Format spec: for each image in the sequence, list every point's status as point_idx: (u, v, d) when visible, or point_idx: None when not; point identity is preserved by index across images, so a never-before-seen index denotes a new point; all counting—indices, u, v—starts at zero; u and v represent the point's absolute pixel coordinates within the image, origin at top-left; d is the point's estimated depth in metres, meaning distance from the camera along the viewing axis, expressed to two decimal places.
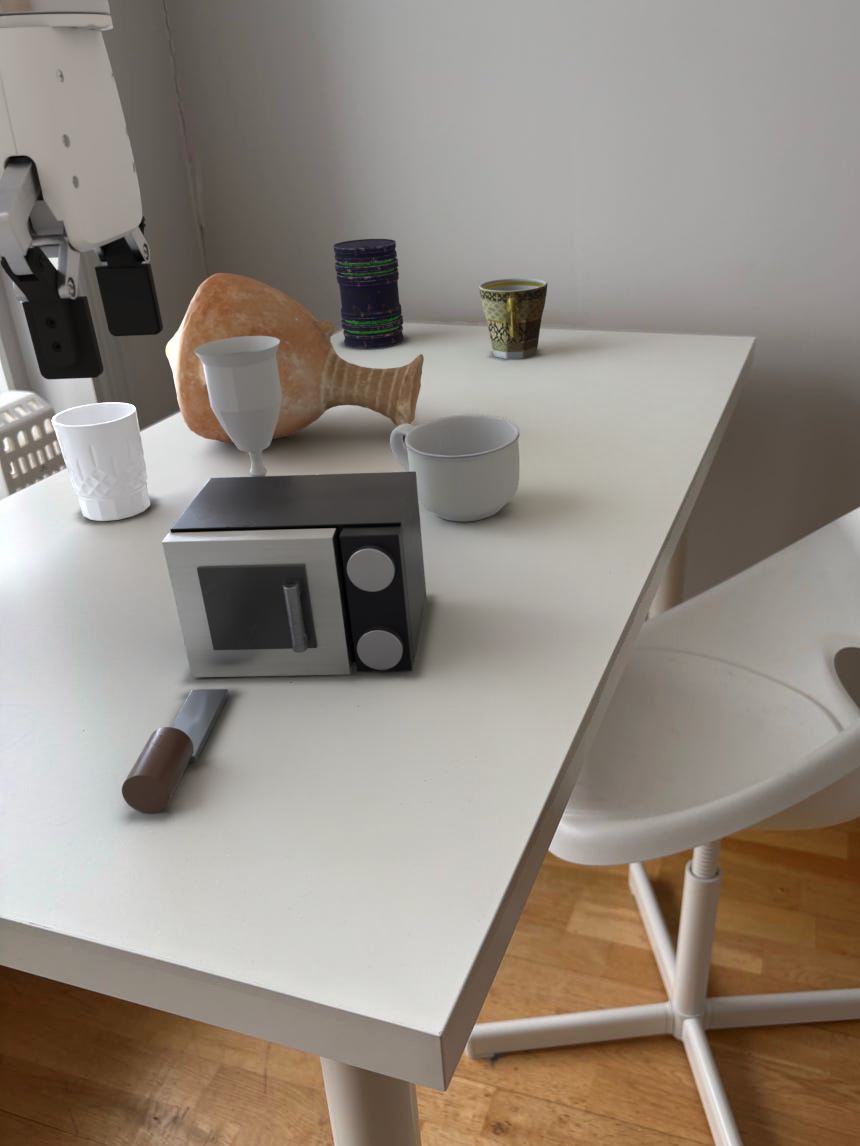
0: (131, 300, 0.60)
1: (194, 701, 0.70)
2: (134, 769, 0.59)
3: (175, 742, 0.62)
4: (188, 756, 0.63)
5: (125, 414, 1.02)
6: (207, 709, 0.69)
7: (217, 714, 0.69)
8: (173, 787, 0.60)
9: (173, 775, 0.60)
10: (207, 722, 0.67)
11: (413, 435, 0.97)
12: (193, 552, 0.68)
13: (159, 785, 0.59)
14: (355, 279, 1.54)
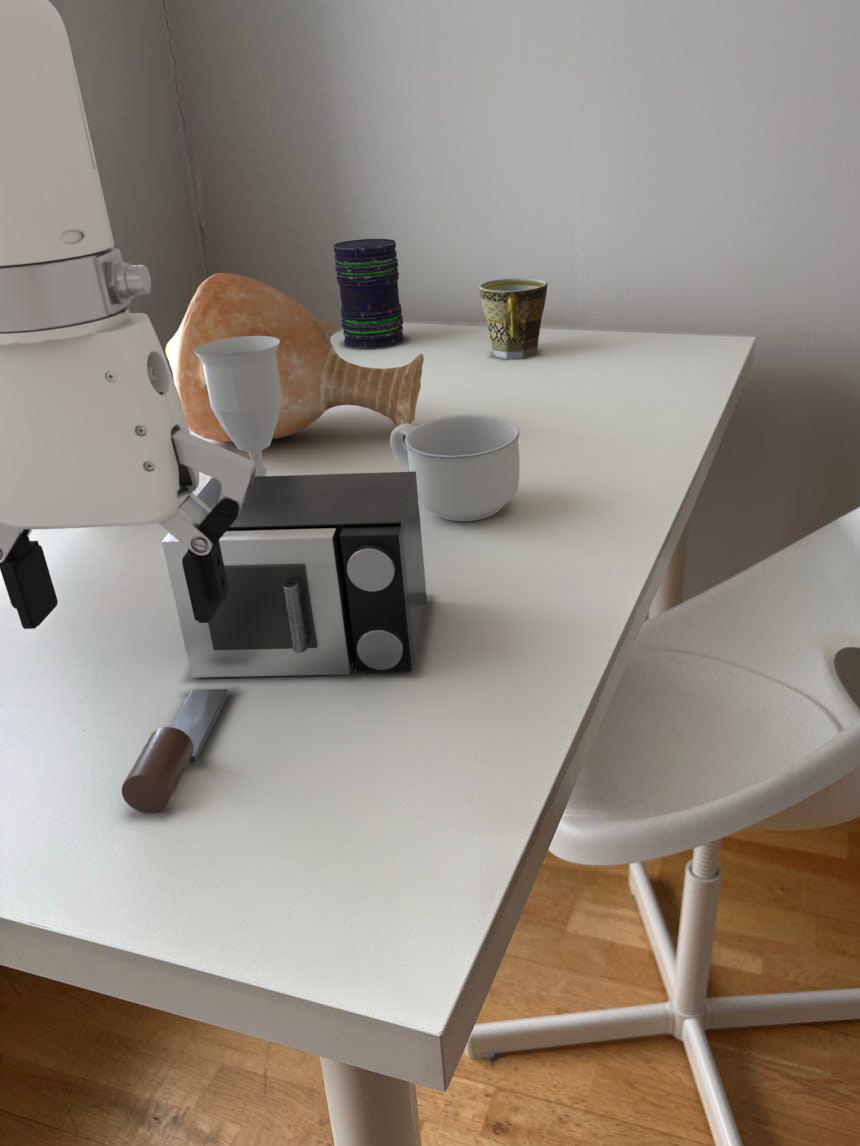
0: None
1: (194, 701, 0.70)
2: (134, 769, 0.59)
3: (175, 742, 0.62)
4: (188, 756, 0.63)
5: None
6: (207, 709, 0.69)
7: (217, 714, 0.69)
8: (173, 787, 0.60)
9: (173, 775, 0.60)
10: (207, 722, 0.67)
11: (413, 435, 0.97)
12: None
13: (159, 785, 0.59)
14: (355, 279, 1.54)
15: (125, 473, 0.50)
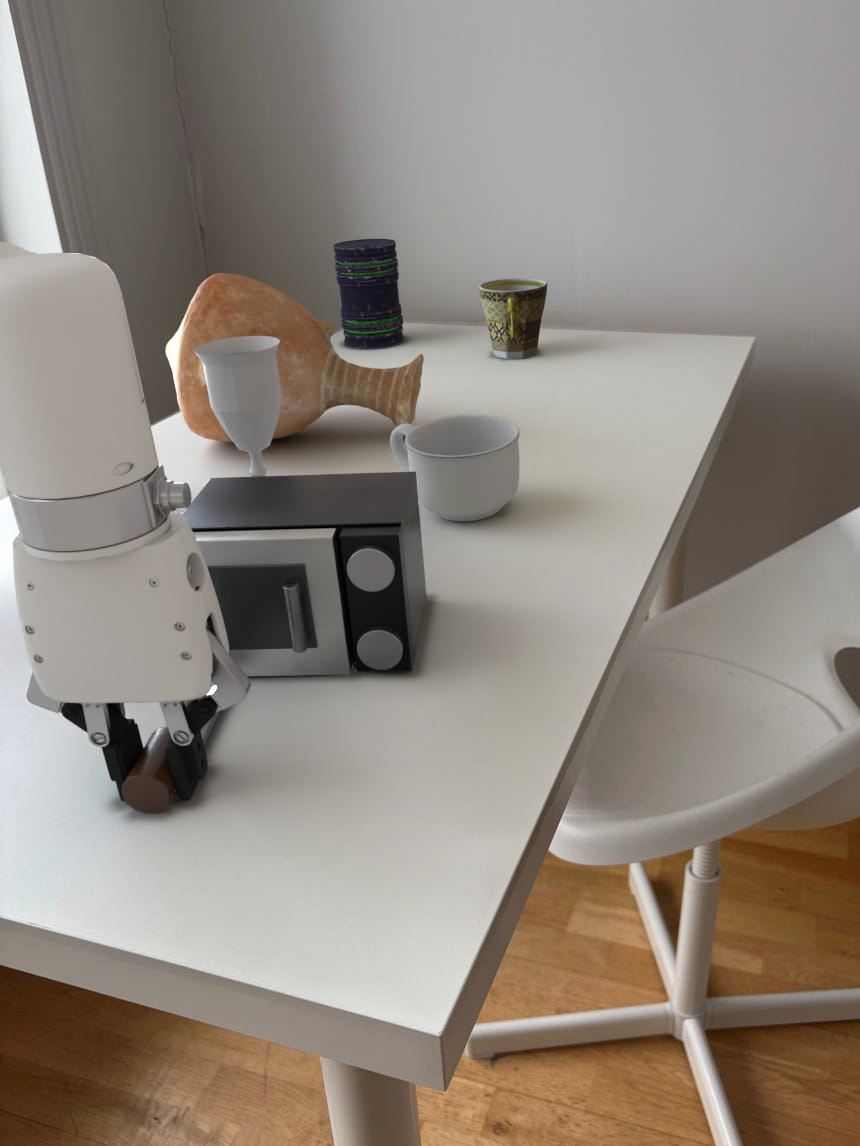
0: None
1: None
2: (134, 769, 0.59)
3: None
4: None
5: None
6: None
7: (217, 714, 0.69)
8: (173, 787, 0.60)
9: None
10: None
11: (413, 435, 0.97)
12: None
13: (159, 785, 0.59)
14: (355, 279, 1.54)
15: (164, 661, 0.55)
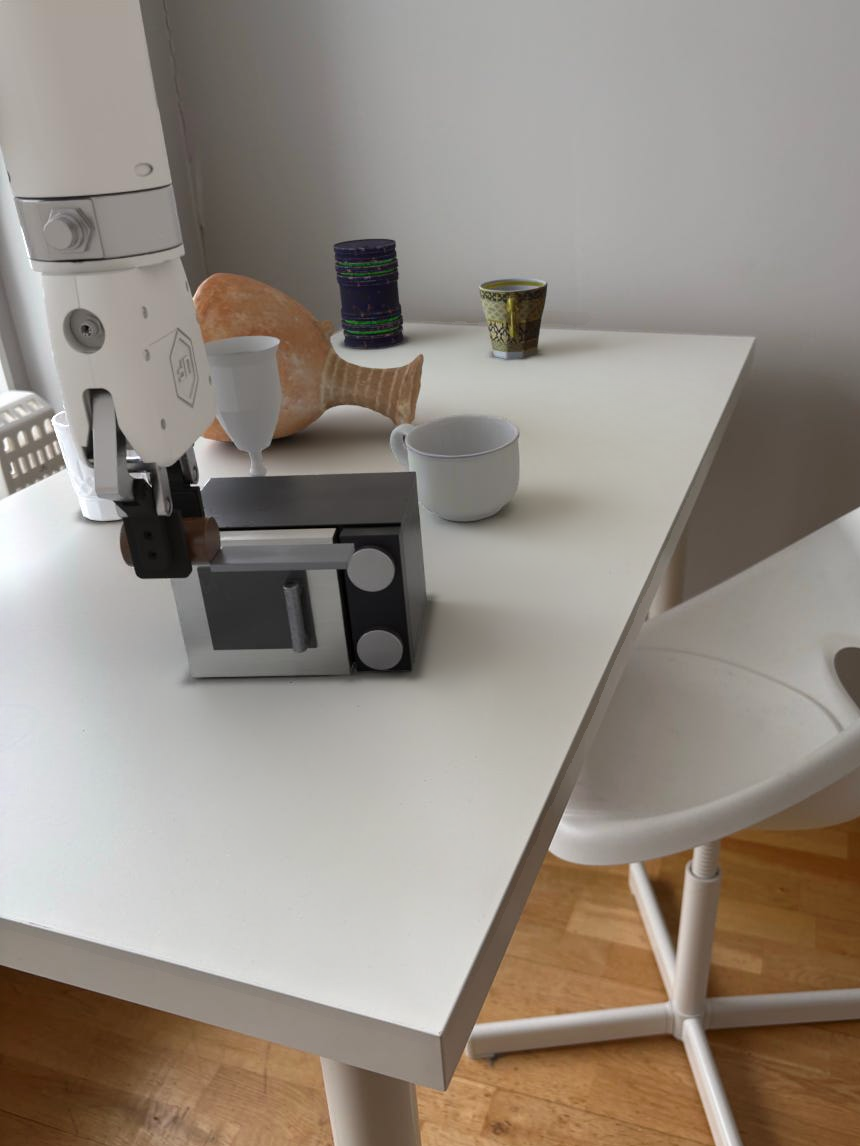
0: None
1: (325, 548, 0.59)
2: None
3: None
4: None
5: None
6: (303, 557, 0.58)
7: (297, 566, 0.58)
8: None
9: None
10: (274, 561, 0.58)
11: (413, 435, 0.97)
12: None
13: (120, 538, 0.58)
14: (355, 279, 1.54)
15: None
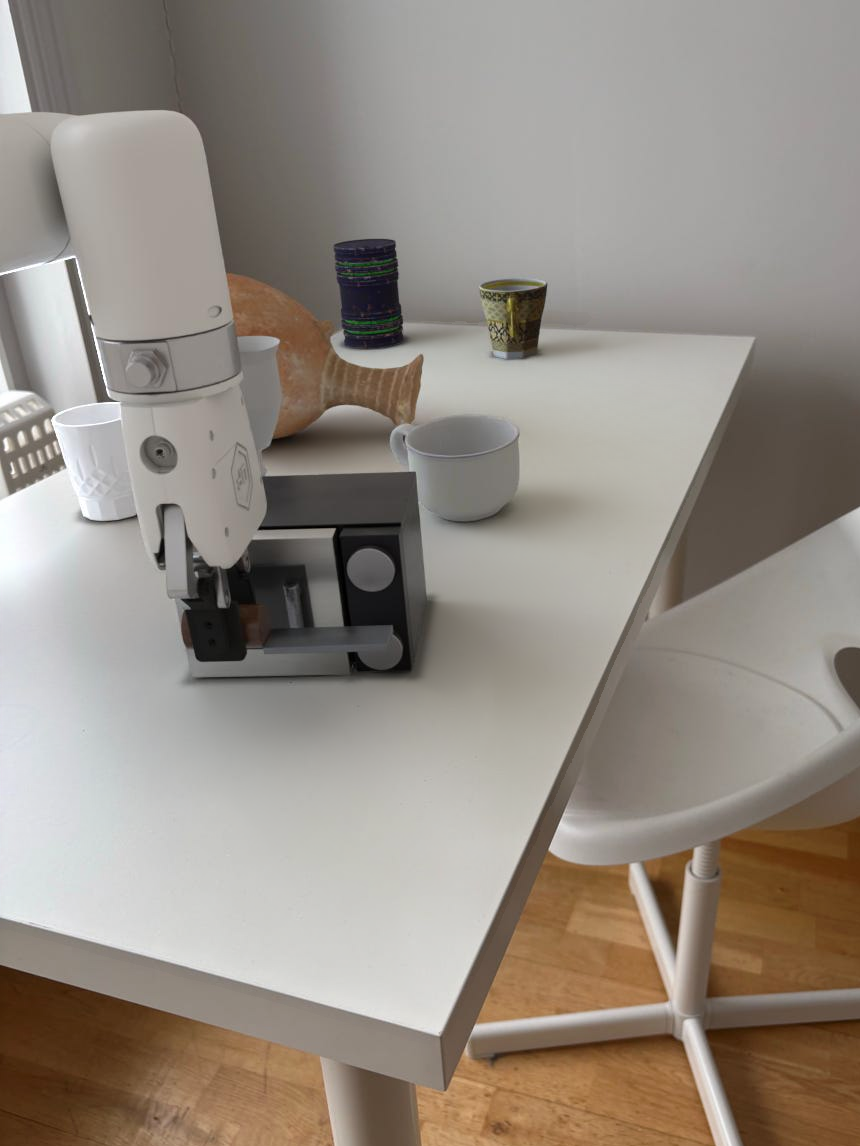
0: None
1: (367, 630, 0.65)
2: None
3: None
4: None
5: None
6: (347, 640, 0.64)
7: (343, 649, 0.64)
8: None
9: None
10: (321, 644, 0.64)
11: (413, 435, 0.97)
12: (193, 552, 0.68)
13: (181, 625, 0.64)
14: (355, 279, 1.54)
15: None
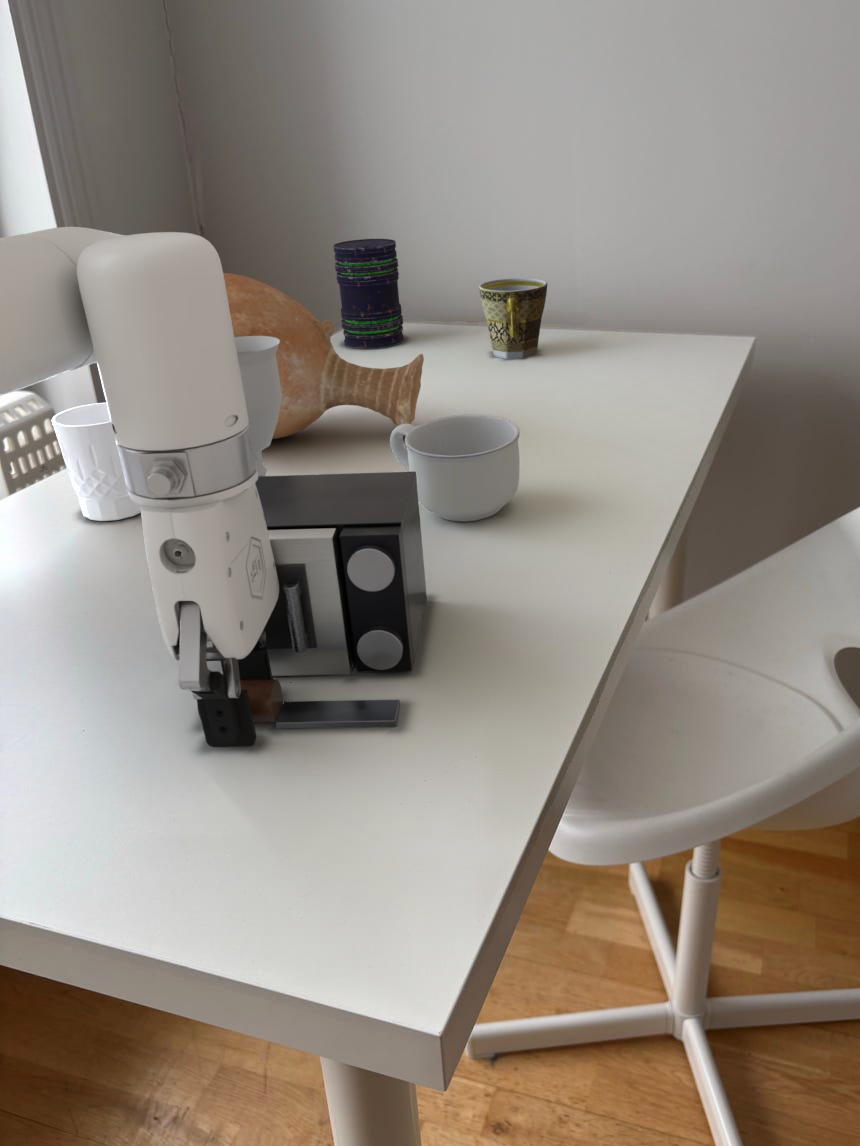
0: None
1: (375, 705, 0.68)
2: None
3: (253, 694, 0.66)
4: (256, 713, 0.66)
5: None
6: (356, 715, 0.67)
7: (352, 724, 0.67)
8: None
9: None
10: (332, 719, 0.67)
11: (413, 435, 0.97)
12: None
13: None
14: (355, 279, 1.54)
15: None
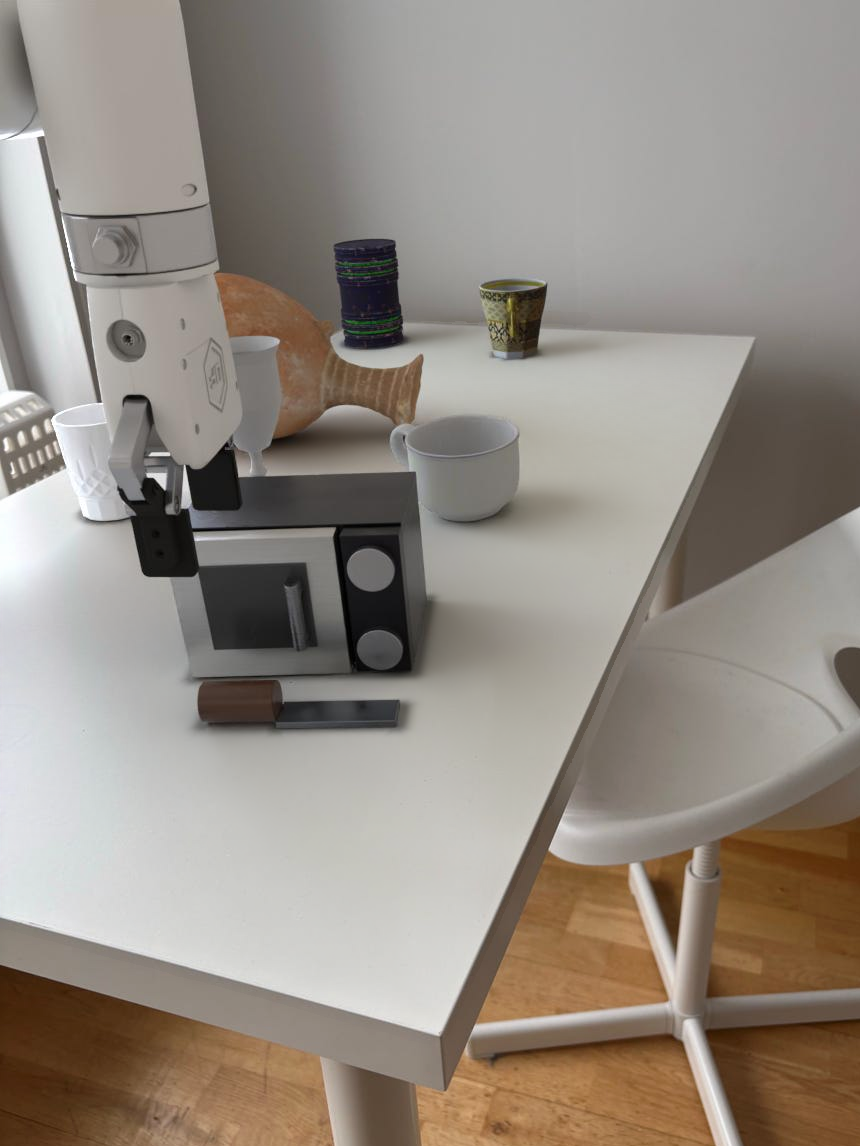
0: None
1: (375, 705, 0.68)
2: None
3: (253, 694, 0.66)
4: (256, 713, 0.66)
5: None
6: (356, 715, 0.67)
7: (352, 724, 0.67)
8: (211, 715, 0.67)
9: (216, 707, 0.66)
10: (332, 719, 0.67)
11: (413, 435, 0.97)
12: None
13: (198, 701, 0.67)
14: (355, 279, 1.54)
15: None
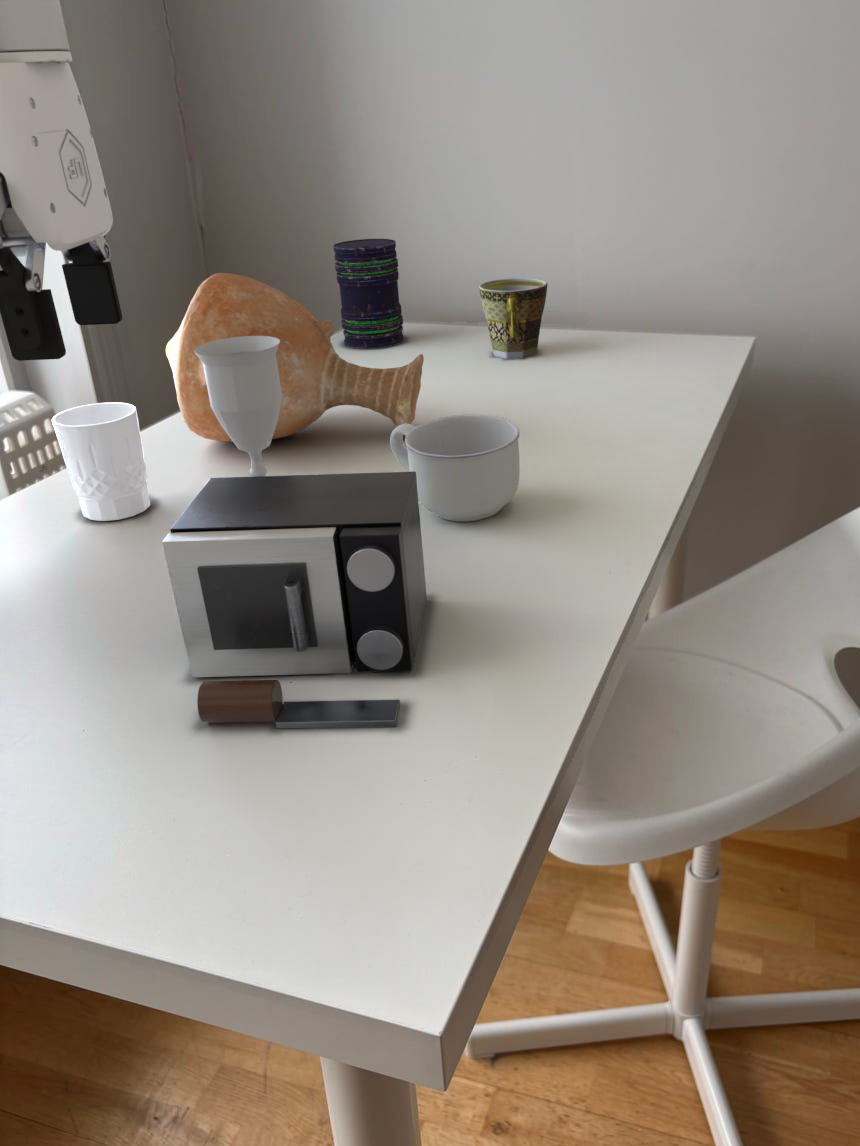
0: None
1: (375, 705, 0.68)
2: None
3: (253, 694, 0.66)
4: (256, 713, 0.66)
5: (125, 414, 1.02)
6: (356, 715, 0.67)
7: (352, 724, 0.67)
8: (211, 715, 0.67)
9: (216, 707, 0.66)
10: (332, 719, 0.67)
11: (413, 435, 0.97)
12: (193, 552, 0.68)
13: (198, 701, 0.67)
14: (355, 279, 1.54)
15: None
